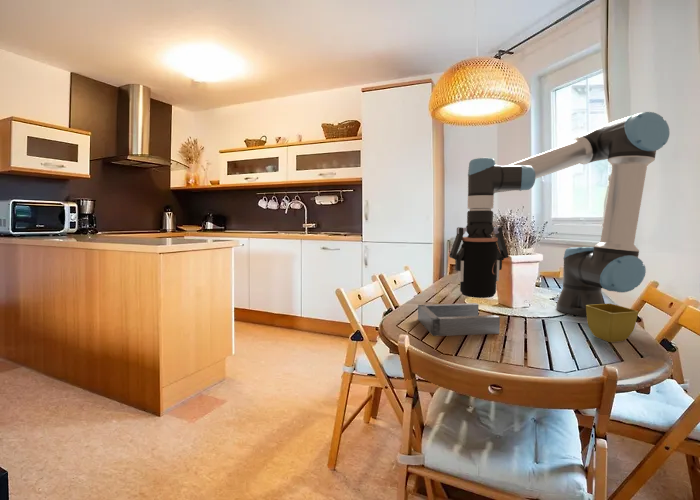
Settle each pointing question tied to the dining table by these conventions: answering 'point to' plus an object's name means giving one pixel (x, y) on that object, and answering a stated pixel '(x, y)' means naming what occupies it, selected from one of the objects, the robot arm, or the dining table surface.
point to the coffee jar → (479, 267)
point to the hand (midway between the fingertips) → (478, 280)
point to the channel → (457, 320)
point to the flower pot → (611, 321)
